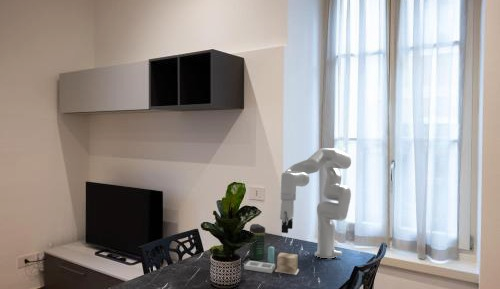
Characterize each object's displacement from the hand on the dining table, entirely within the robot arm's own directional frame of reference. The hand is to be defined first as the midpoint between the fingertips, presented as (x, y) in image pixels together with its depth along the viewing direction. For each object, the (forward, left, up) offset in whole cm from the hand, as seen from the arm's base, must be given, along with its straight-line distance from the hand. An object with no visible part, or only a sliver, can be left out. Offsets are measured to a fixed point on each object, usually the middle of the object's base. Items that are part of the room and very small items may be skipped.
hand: (287, 230), depth 176 cm
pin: (+10, -7, -21) cm, 24 cm away
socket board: (+13, +3, -20) cm, 24 cm away
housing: (-1, 0, -20) cm, 20 cm away
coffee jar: (+20, -14, -21) cm, 32 cm away
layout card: (-1, 0, -20) cm, 21 cm away
